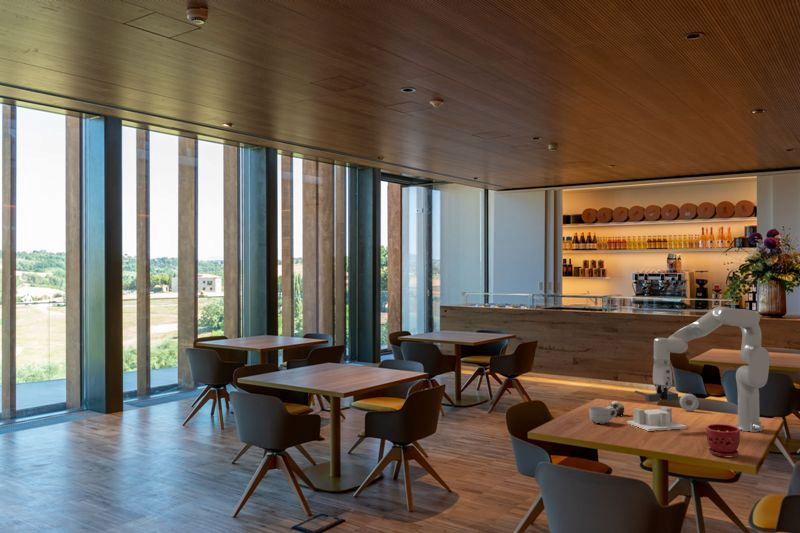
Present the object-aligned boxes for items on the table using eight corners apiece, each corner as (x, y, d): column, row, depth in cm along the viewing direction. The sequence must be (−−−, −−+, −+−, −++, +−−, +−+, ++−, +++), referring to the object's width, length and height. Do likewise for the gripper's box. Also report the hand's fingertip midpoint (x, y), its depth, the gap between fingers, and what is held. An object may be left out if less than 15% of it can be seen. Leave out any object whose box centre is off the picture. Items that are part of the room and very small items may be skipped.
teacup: (588, 424, 340) (588, 409, 340) (590, 419, 350) (589, 404, 350) (616, 426, 335) (616, 410, 335) (617, 421, 345) (617, 406, 345)
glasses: (678, 400, 330) (678, 393, 330) (648, 402, 326) (648, 395, 326) (663, 396, 342) (663, 389, 342) (634, 397, 338) (634, 390, 338)
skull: (603, 415, 357) (602, 398, 364) (603, 424, 364) (602, 408, 371) (626, 415, 353) (625, 399, 360) (626, 425, 361) (625, 409, 367)
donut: (679, 410, 370) (679, 393, 370) (680, 409, 373) (680, 392, 373) (698, 412, 365) (698, 394, 365) (699, 411, 368) (699, 393, 368)
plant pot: (701, 450, 289) (701, 423, 289) (733, 451, 288) (732, 424, 288) (713, 459, 276) (712, 430, 276) (745, 459, 275) (745, 431, 275)
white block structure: (686, 428, 328) (686, 412, 328) (648, 431, 323) (648, 414, 323) (663, 421, 346) (663, 405, 346) (627, 423, 340) (627, 407, 340)
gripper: (678, 364, 323) (678, 401, 323) (658, 360, 339) (658, 395, 338) (665, 364, 321) (665, 402, 321) (645, 360, 337) (645, 396, 337)
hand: (661, 398), depth 330 cm, fingers closed on glasses, 2 cm apart
